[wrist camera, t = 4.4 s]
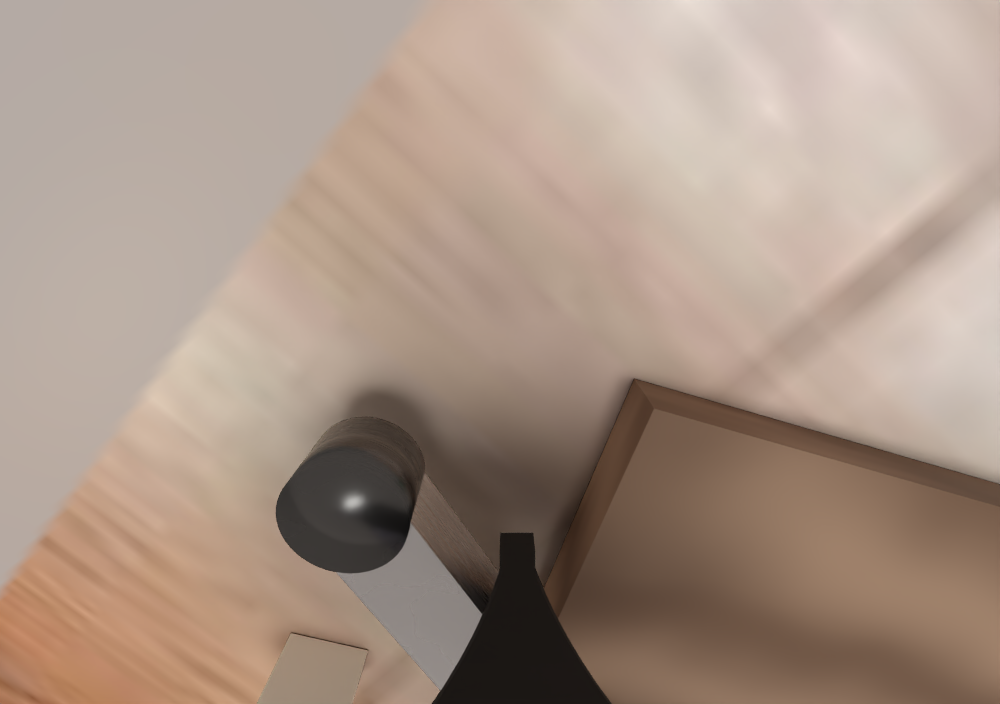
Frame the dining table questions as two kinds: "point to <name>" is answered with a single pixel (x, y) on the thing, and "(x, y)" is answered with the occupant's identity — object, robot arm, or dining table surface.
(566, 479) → the dining table surface
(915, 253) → the dining table surface
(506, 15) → the dining table surface
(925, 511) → the stool seat
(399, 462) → the folding leg
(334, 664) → the block
